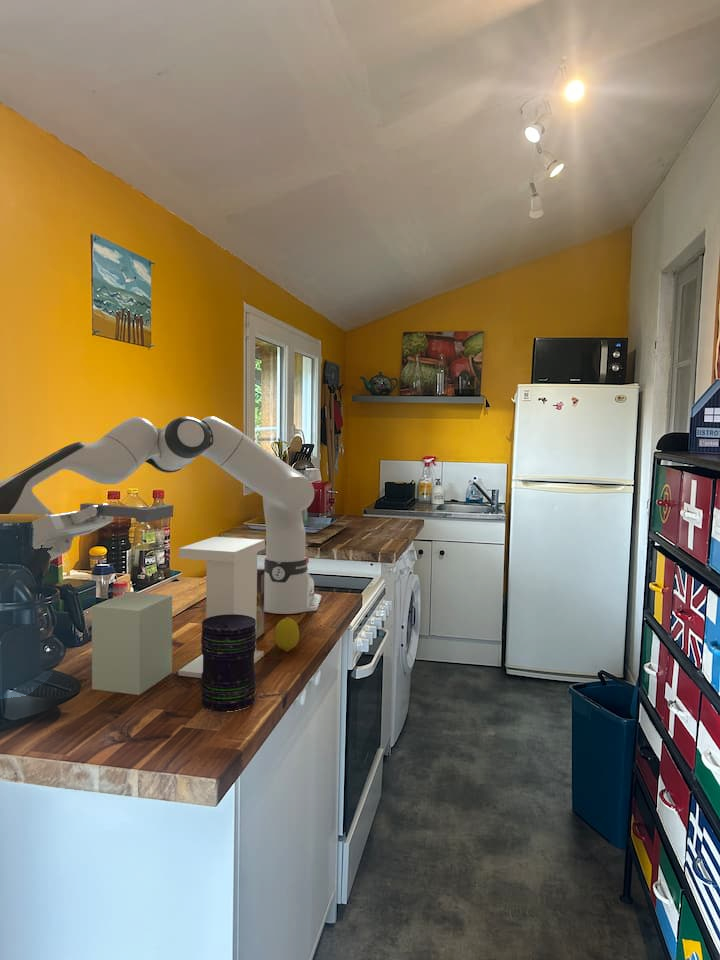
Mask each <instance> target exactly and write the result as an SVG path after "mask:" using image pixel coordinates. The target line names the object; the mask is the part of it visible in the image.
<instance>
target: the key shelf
mask: <svg viewBox="0 0 720 960" xmlns="http://www.w3.org/2000/svg"><path fill="white" fill-rule="evenodd" d="M264 550H266V539H259V538H257V539H256V538H243V537H241V538H240V537H229V536H228V537H227V536H226V537H224V536H212V537H210V538H206V539H203V540H199V541H198V542H194V543H190V544H187V545H184V546H182V547H179V548H178V559H185V560H187V559H188V560H197V561H198V560H199V561H206V569H205V570H206V575H205V576H206V577H205V578H206V579H205V580H206V581H205V582H206V583H205V585H206V587H205V590H206V591H205V592H206V594H205V595H206V596H205V597H206V598H205V600H206V601H205V605H206V606H205V619H206V618H209V617H213V616H218V615H227V614H237V615H246V616H250V617H252V618H254V619H255V620H256V613H257V569H258V553H259V552H261V551H264ZM255 628H256V626H255ZM255 645H256V646H257V641H256V642H255ZM264 656H265V653H264V650H257V647H256V648H255V652H254V665H255V664H256V663H257V662H259V660H260V659H261V657H262V658H263V657H264ZM202 672H203V654H202V653H201V654H200V655H199V656H198V657H196V658H195V659H194V660H191V661H190V662H189V663H187V664H186V665H185V666H183V667H182V668H180V669H179V670H178V672H177V673H178V676H180V677H181V676H182V677H190V678H199V679H201V678H202Z"/></svg>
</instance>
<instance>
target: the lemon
mask: <svg viewBox="0 0 720 960" xmlns="http://www.w3.org/2000/svg"><path fill="white" fill-rule="evenodd" d="M299 640H300V629H299V625H298V623H297V622H296V621H295V620H293V618H290V617H289V616H286V617H285V618H282V619H281V620H279V621H278V623H277V624H276V625H275V629H274V641H275V644H276V646H277V647H278V648H280V649H282V650H283V651H284V652H286V653H289V651H291V650H292V649H294V648H295V647H296V646H297V645H298V642H299Z"/></svg>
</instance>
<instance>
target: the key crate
mask: <svg viewBox="0 0 720 960" xmlns="http://www.w3.org/2000/svg"><path fill="white" fill-rule="evenodd" d="M172 673H173V595H168V594H158V593H147V592H145V593H144V592H132V591H127V592H124V593H122V594H118V595H117V596H114V597H112V598H110V599H106V600H103V601H102V602H99V603H97V604H94V605H92V606H91V690H97V691H103V692H112V693H120V694H128V695H133V696H134V695H136V696H140V695H142V694H143V693H144V692H146V691H147V690H149V689H151V688H152V687H153V686H155V685H157V683H159V682H160V681H162V680H164V679H165V678H166V677H168V676H169V675H171V674H172Z"/></svg>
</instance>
